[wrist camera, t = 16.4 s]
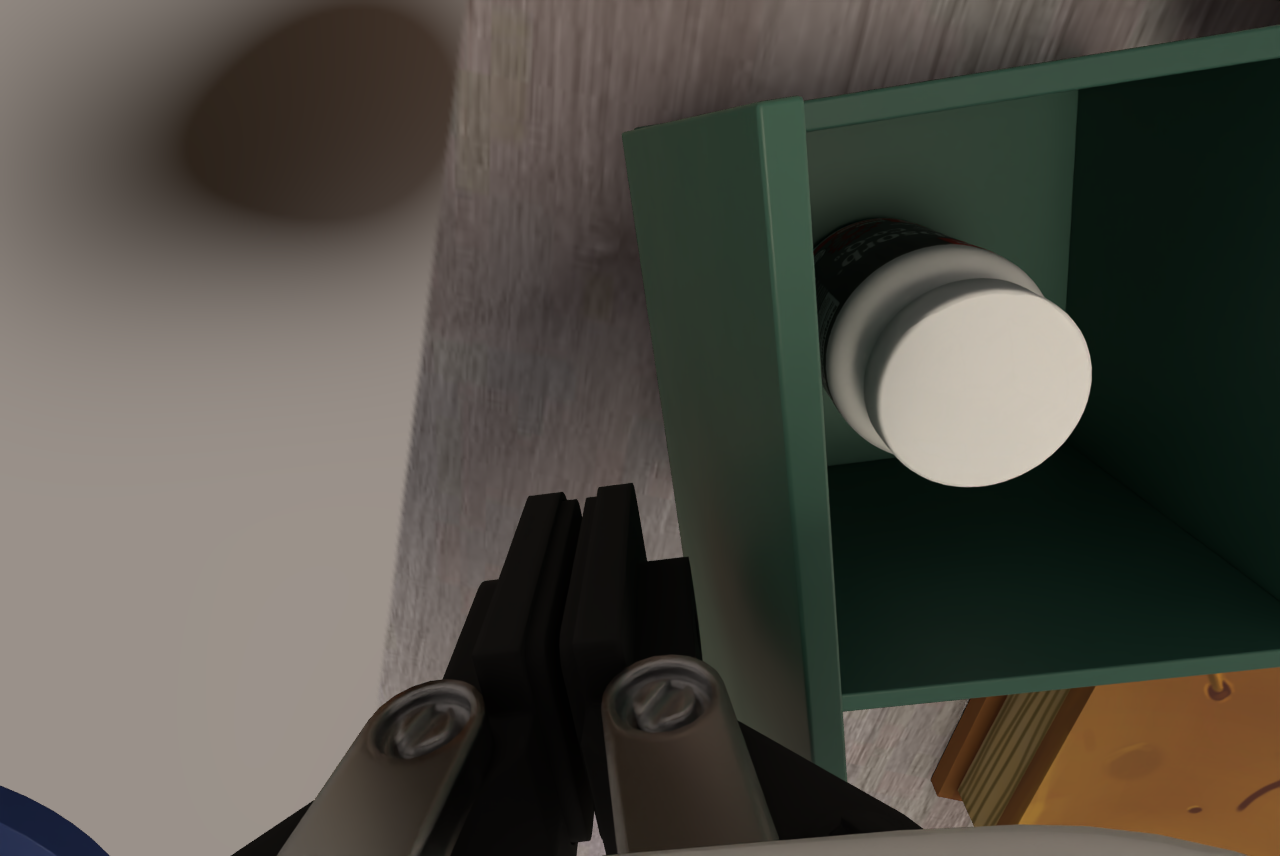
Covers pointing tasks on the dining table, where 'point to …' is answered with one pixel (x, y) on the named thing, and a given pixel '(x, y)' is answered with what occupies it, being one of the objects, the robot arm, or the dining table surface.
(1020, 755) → the diary
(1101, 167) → the green square bin
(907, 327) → the pill bottle
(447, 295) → the dining table surface
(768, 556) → the flap
